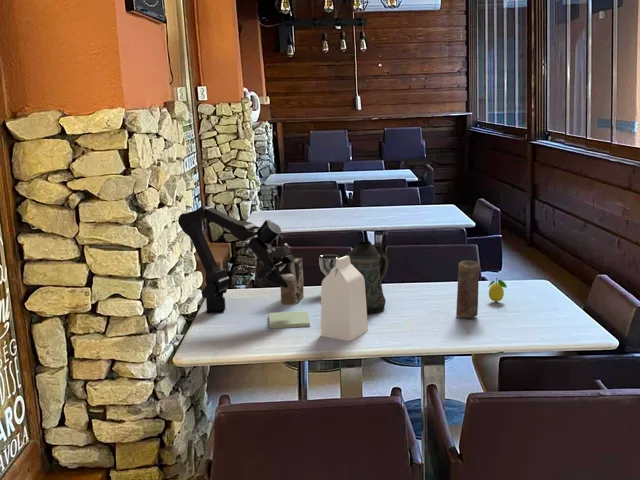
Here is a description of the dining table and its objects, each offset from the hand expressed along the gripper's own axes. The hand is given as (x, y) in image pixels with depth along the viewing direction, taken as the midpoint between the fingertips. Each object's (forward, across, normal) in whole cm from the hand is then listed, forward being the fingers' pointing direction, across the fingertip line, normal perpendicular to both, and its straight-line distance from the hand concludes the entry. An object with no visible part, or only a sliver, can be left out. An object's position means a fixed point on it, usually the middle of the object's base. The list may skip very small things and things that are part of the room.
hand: (290, 285), depth 251 cm
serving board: (+9, 0, +10) cm, 13 cm away
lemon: (+52, +51, -33) cm, 80 cm away
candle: (+48, +29, -30) cm, 64 cm away
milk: (+26, -4, -6) cm, 27 cm away
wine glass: (+6, +39, +13) cm, 42 cm away
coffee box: (0, +25, +19) cm, 31 cm away
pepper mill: (+4, 0, +6) cm, 7 cm away
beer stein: (+22, +26, -2) cm, 34 cm away
